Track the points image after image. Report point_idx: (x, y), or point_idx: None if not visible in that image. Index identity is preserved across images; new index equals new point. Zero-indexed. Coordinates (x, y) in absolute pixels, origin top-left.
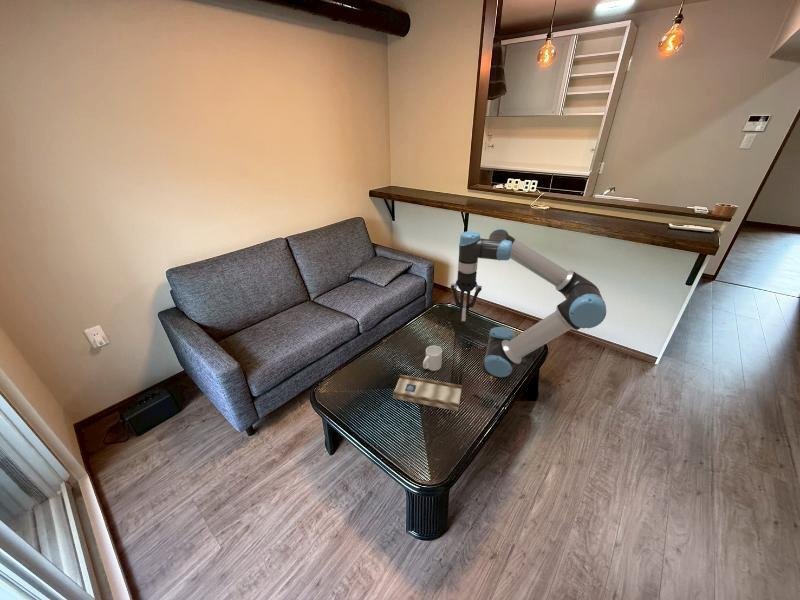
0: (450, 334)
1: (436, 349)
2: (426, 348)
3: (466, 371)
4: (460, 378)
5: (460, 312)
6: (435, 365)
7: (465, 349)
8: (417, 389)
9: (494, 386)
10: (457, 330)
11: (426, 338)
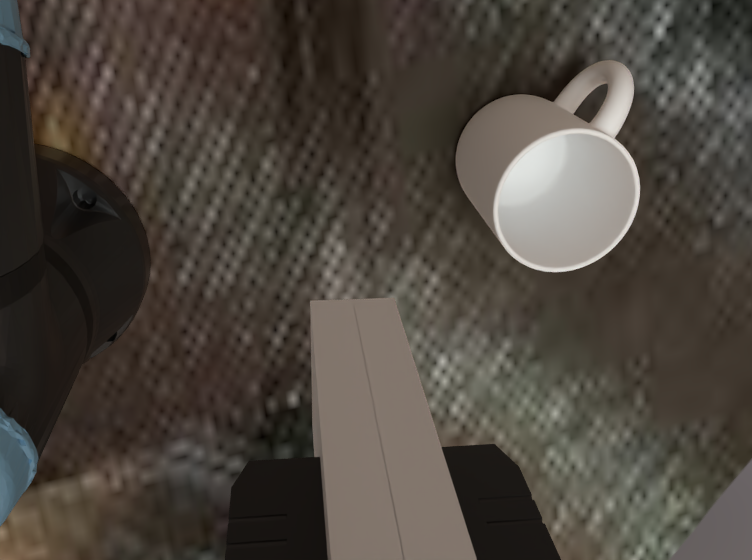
0: None
1: (534, 252)
2: (634, 214)
3: (256, 154)
4: (291, 62)
5: (490, 467)
6: (511, 109)
7: (298, 386)
8: None
9: None
10: None
11: (584, 425)
